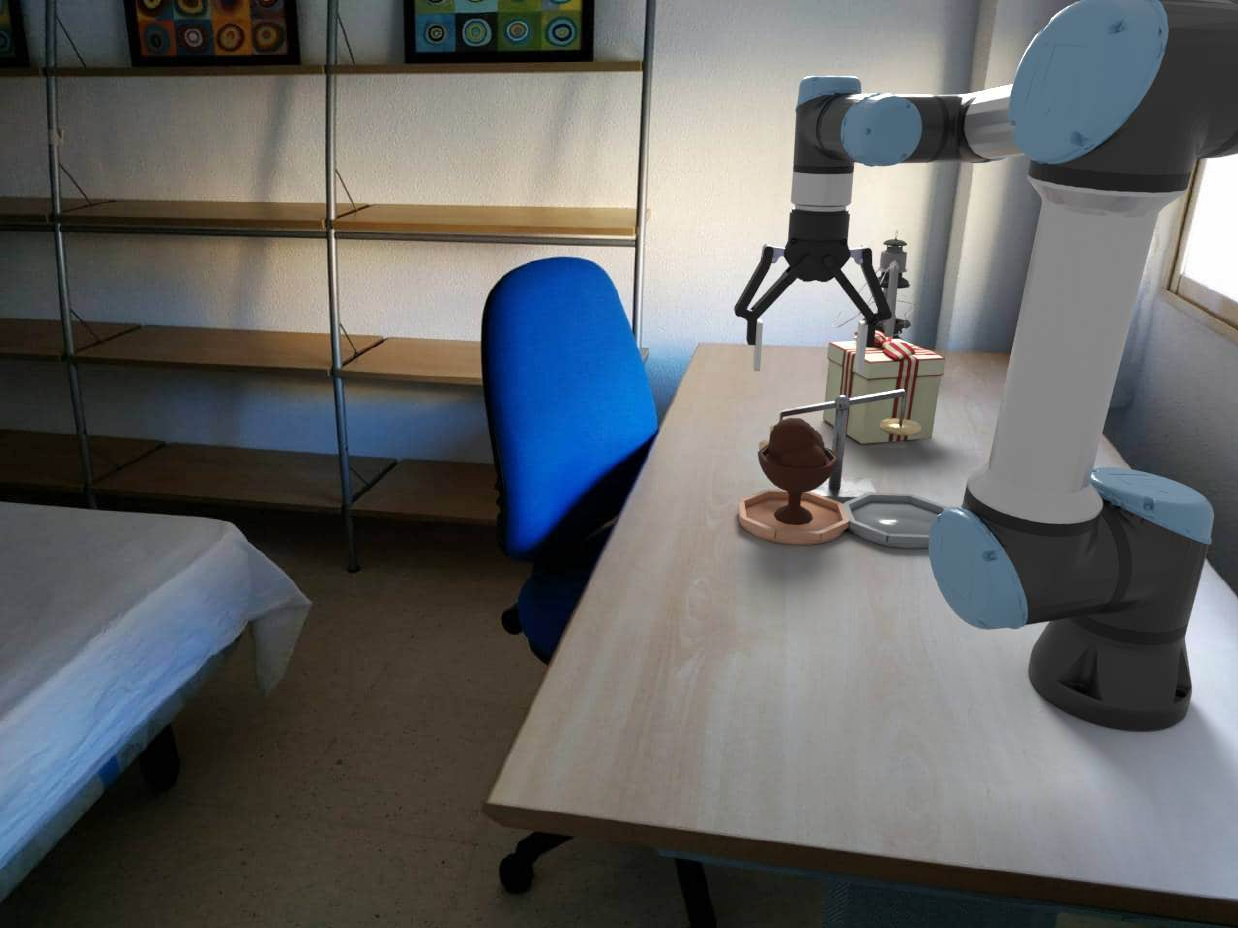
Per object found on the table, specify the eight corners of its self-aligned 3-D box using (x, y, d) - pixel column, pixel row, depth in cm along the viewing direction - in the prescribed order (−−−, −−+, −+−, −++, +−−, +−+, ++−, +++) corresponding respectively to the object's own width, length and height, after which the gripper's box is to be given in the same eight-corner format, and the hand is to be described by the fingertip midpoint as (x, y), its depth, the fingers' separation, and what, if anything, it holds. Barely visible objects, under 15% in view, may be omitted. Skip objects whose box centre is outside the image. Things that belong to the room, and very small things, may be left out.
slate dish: (965, 550, 132) (967, 538, 131) (853, 546, 132) (854, 534, 132) (938, 505, 146) (940, 494, 145) (837, 502, 146) (838, 491, 146)
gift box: (952, 436, 174) (965, 342, 168) (865, 449, 168) (875, 351, 162) (894, 408, 189) (904, 321, 183) (812, 419, 183) (819, 328, 177)
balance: (917, 506, 145) (931, 398, 139) (758, 501, 147) (764, 394, 140) (906, 485, 153) (919, 382, 147) (754, 481, 154) (760, 378, 148)
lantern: (816, 359, 222) (827, 225, 211) (898, 356, 225) (914, 223, 215) (847, 382, 206) (861, 237, 195) (936, 378, 209) (954, 235, 198)
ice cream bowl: (833, 536, 134) (842, 432, 128) (751, 528, 136) (757, 426, 130) (833, 505, 143) (842, 408, 138) (756, 499, 145) (762, 402, 140)
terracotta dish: (853, 546, 132) (854, 534, 132) (741, 543, 133) (742, 531, 133) (837, 502, 146) (838, 491, 146) (736, 499, 147) (737, 488, 147)
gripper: (913, 205, 126) (895, 364, 134) (719, 202, 128) (713, 360, 135) (927, 212, 119) (907, 379, 127) (722, 209, 121) (715, 375, 128)
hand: (807, 370), depth 131 cm, fingers open, 13 cm apart
